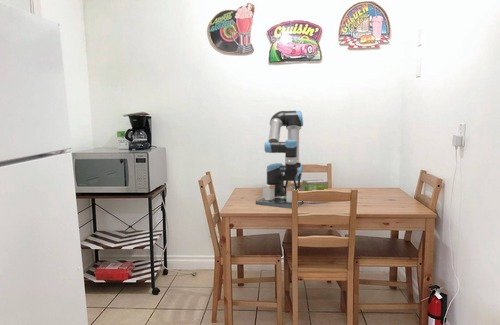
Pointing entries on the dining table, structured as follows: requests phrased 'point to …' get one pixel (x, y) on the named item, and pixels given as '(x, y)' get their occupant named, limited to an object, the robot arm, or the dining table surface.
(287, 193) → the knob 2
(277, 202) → the levelling base
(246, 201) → the dining table surface
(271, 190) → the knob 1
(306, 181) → the tea box
